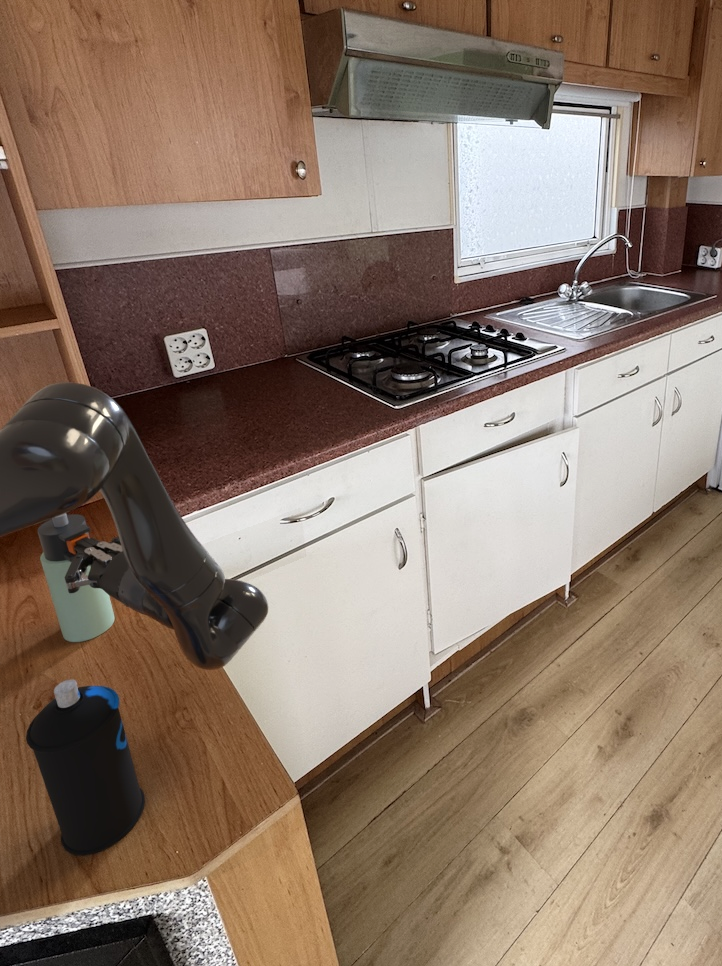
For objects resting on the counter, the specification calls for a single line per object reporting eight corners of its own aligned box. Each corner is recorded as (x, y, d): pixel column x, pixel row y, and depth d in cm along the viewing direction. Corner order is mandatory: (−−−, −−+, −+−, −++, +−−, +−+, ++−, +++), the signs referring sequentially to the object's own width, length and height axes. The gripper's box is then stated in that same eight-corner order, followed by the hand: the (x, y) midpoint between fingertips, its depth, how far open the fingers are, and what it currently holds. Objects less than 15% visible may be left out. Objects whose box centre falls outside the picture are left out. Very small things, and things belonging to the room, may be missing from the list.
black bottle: (85, 872, 62) (40, 734, 55) (46, 831, 66) (-1, 698, 59) (160, 805, 69) (127, 675, 62) (120, 772, 73) (85, 646, 66)
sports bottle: (53, 631, 95) (19, 518, 88) (100, 606, 101) (71, 498, 94) (80, 650, 91) (47, 534, 84) (127, 623, 97) (100, 511, 90)
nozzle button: (68, 551, 89) (65, 539, 88) (85, 543, 90) (82, 531, 90) (74, 554, 88) (71, 542, 87) (91, 546, 90) (88, 534, 89)
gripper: (188, 535, 85) (120, 504, 93) (91, 585, 74) (24, 545, 82) (196, 578, 87) (129, 544, 95) (104, 632, 76) (37, 589, 84)
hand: (81, 544), depth 88 cm, fingers closed
